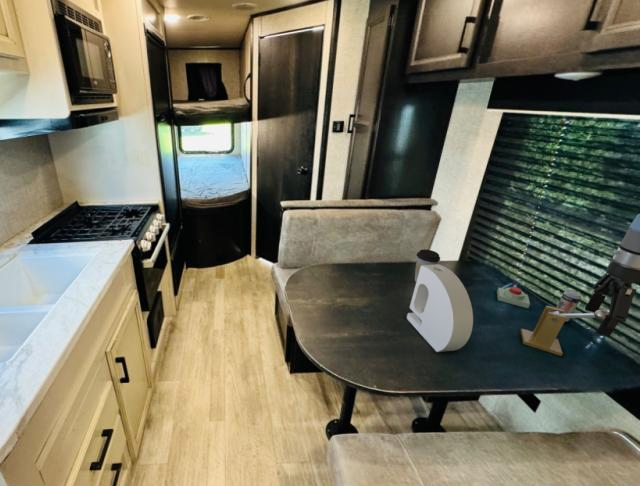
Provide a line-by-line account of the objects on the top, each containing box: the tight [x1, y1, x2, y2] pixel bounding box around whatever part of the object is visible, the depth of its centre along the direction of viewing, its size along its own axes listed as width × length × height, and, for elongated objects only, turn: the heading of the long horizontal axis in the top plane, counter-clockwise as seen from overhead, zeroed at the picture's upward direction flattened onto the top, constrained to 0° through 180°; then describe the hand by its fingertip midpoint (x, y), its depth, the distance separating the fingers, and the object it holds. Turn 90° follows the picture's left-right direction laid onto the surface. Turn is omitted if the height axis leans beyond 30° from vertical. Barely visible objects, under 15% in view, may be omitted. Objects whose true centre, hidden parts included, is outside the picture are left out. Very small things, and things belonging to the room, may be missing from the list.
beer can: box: [555, 289, 582, 322], centre depth 120 cm, size 5×5×12 cm
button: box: [510, 286, 523, 295], centre depth 132 cm, size 4×4×2 cm
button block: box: [496, 287, 531, 309], centre depth 133 cm, size 10×8×4 cm
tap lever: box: [547, 309, 609, 322], centre depth 102 cm, size 14×4×4 cm, turn 55°
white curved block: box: [406, 263, 474, 353], centre depth 109 cm, size 7×21×25 cm, turn 6°
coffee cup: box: [414, 248, 441, 283], centre depth 144 cm, size 9×9×15 cm
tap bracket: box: [520, 305, 566, 357], centre depth 108 cm, size 10×8×14 cm
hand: (596, 322), depth 100 cm, fingers open, 13 cm apart
